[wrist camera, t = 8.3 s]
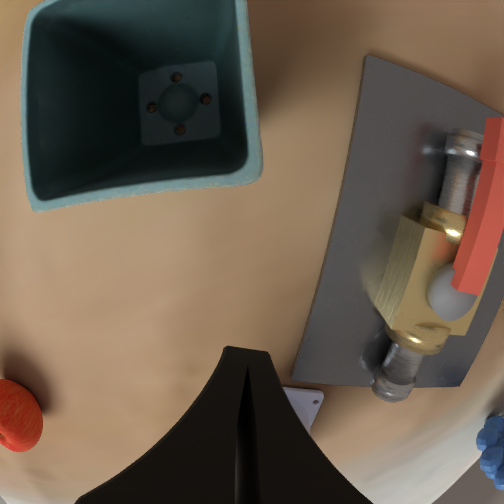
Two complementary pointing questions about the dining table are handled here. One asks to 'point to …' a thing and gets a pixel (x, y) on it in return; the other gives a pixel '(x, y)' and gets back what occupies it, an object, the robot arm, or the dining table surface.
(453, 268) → the lever
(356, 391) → the dining table surface
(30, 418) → the apple
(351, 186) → the valve body
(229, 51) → the flower pot
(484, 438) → the grapes
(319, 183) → the dining table surface
